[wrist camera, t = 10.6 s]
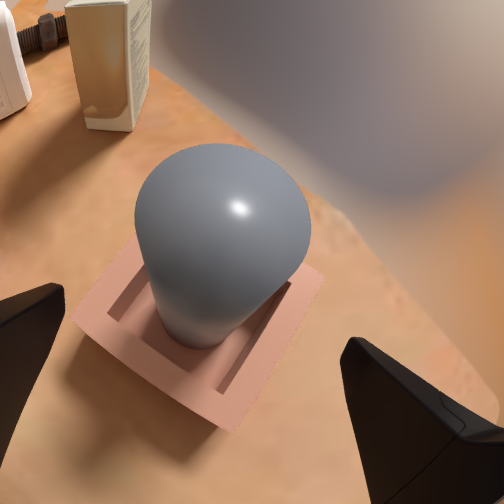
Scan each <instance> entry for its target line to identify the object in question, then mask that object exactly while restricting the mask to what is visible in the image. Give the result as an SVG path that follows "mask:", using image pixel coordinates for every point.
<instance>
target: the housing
mask: <svg viewBox="0 0 504 504" xmlns="http://www.w3.org/2000/svg"><path fill="white" fill-rule="evenodd" d="M324 278H325V276H323V275H322V274H320V273H319V272H317V271H316V270H314V269H313V268H311V267H310V266H309V265H307V264H306V263H304V262H303V261H302V263H301V265H300V266H299V268H298V269H297V271H296V272H295V273H294V274H293V275H292V276H291V277H290V278H289V279H288V280H287V281H286V282H285V283H284V284H283V285H282V286H281V287H280V288H279V289H278V290H277V291H276V292H275V293H274V294H273V295H272V296H271V297H270V298H268V299H267V300H266V301H265V302H264V303H263V304H262V305H261V306H260V307H259V308H258V309H257V310H256V311H255V312H254V313H253V314H252V315H250V316H249V317H248V318H247V319H246V320H245V321H244V322H243V323H242V324H241V325H240V326H239V327H238V328H236V329H235V330H234V331H233V332H232V333H231V334H230V335H229V336H228V337H227V338H226V339H225V340H223V341H222V342H221V343H219V344H217V345H216V346H213V347H211V348H207V349H191V348H187V347H184V346H182V345H180V344H179V343H177V342H176V341H174V340H173V339H172V338H171V337H170V336H169V335H168V333H167V332H166V331H165V329H164V327H163V324H162V322H161V319H160V316H159V312H158V309H157V306H156V303H155V299H154V296H153V293H152V289H151V286H150V283H149V279H148V276H147V272H146V269H145V265H144V261H143V258H142V254H141V250H140V246H139V242H138V239H137V235H136V232H135V234H134V235H133V236H132V237H131V238H130V240H129V241H128V242H127V243H126V244H125V246H124V247H123V248H122V249H121V250H120V252H119V253H118V254H117V255H116V257H115V258H114V259H113V260H112V261H111V263H110V264H109V265H108V266H107V268H106V269H105V270H104V272H103V273H102V274H101V275H100V277H99V278H98V279H97V281H96V282H95V283H94V284H93V286H92V287H91V288H90V290H89V291H88V292H87V294H86V295H85V296H84V298H83V299H82V300H81V302H80V303H79V304H78V306H77V307H76V308H75V310H74V311H73V313H72V314H71V315H70V317H69V319H70V320H71V321H72V322H74V323H75V324H76V325H77V326H78V327H79V328H80V329H82V330H83V331H84V332H85V333H86V334H87V335H89V336H90V337H91V338H92V339H93V340H95V341H96V342H97V343H98V344H99V345H101V346H102V347H103V348H104V349H106V350H107V351H108V352H109V353H111V354H112V355H113V356H115V357H116V358H117V359H118V360H120V361H121V362H122V363H124V364H125V365H126V366H128V367H129V368H130V369H132V370H133V371H134V372H136V373H137V374H138V375H140V376H141V377H143V378H144V379H145V380H147V381H148V382H150V383H151V384H153V385H154V386H155V387H157V388H158V389H160V390H161V391H163V392H164V393H166V394H167V395H169V396H170V397H172V398H173V399H175V400H176V401H178V402H179V403H181V404H183V405H184V406H186V407H187V408H189V409H190V410H192V411H194V412H195V413H197V414H199V415H200V416H202V417H204V418H205V419H207V420H209V421H210V422H212V423H214V424H215V425H217V426H219V427H221V428H222V429H224V430H226V431H228V432H230V433H231V434H234V432H235V431H236V429H237V428H238V426H239V425H240V423H241V422H242V420H243V419H244V417H245V415H246V414H247V412H248V411H249V409H250V408H251V406H252V404H253V403H254V401H255V400H256V398H257V396H258V395H259V393H260V391H261V390H262V388H263V387H264V385H265V383H266V382H267V380H268V378H269V377H270V375H271V373H272V372H273V370H274V368H275V367H276V365H277V363H278V362H279V360H280V358H281V356H282V355H283V353H284V351H285V349H286V348H287V346H288V344H289V343H290V341H291V339H292V337H293V335H294V334H295V332H296V330H297V328H298V327H299V325H300V323H301V321H302V319H303V318H304V316H305V314H306V312H307V310H308V308H309V307H310V305H311V303H312V301H313V299H314V297H315V295H316V294H317V292H318V290H319V288H320V286H321V284H322V282H323V280H324Z"/></svg>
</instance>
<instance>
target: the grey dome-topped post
mask: <svg viewBox="0 0 504 504" xmlns="http://www.w3.org/2000/svg"><path fill="white" fill-rule="evenodd" d="M135 229H136V235H137V239H138V242H139V246H140V250H141V254H142V258H143V261H144V265H145V269H146V272H147V276H148V279H149V283H150V286H151V289H152V293H153V296H154V299H155V303H156V306H157V309H158V312H159V316H160V319H161V322H162V324H163V327H164V329H165V331H166V332H167V333H168V335H169V336H170V337H171V338H172V339H173V340H174V341H176V342H177V343H179V344H180V345H182V346H184V347H187V348H191V349H207V348H211V347H213V346H216V345H217V344H219V343H221V342H222V341H223V340H225V339H226V338H227V337H228V336H229V335H230V334H231V333H232V332H233V331H234V330H235V329H236V328H238V327H239V326H240V325H241V324H242V323H243V322H244V321H245V320H246V319H247V318H248V317H249V316H250V315H252V314H253V313H254V312H255V311H256V310H257V309H258V308H259V307H260V306H261V305H262V304H263V303H264V302H265V301H266V300H267V299H268V298H270V297H271V296H272V295H273V294H274V293H275V292H276V291H277V290H278V289H279V288H280V287H281V286H282V285H283V284H284V283H285V282H286V281H287V280H288V279H289V278H290V277H291V276H292V275H293V274H294V273H295V272H296V271H297V269H298V268H299V266H300V265H301V263H302V261H303V259H304V257H305V255H306V253H307V250H308V247H309V243H310V237H311V219H310V213H309V209H308V205H307V203H306V200H305V198H304V195H303V194H302V192H301V190H300V188H299V186H298V185H297V184H296V182H295V181H294V180H293V178H292V177H291V176H290V175H289V174H288V173H287V172H286V171H285V170H284V169H283V168H282V167H280V166H279V165H278V164H277V163H275V162H274V161H272V160H271V159H270V158H268V157H266V156H264V155H262V154H260V153H258V152H256V151H253V150H251V149H248V148H244V147H241V146H236V145H230V144H204V145H198V146H194V147H190V148H187V149H184V150H182V151H179V152H177V153H175V154H173V155H171V156H170V157H168V158H167V159H165V160H164V161H163V162H161V163H160V164H159V165H158V166H157V167H156V168H155V169H154V170H153V171H152V172H151V173H150V174H149V176H148V177H147V179H146V180H145V182H144V183H143V185H142V188H141V190H140V192H139V195H138V198H137V201H136V207H135Z"/></svg>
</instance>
